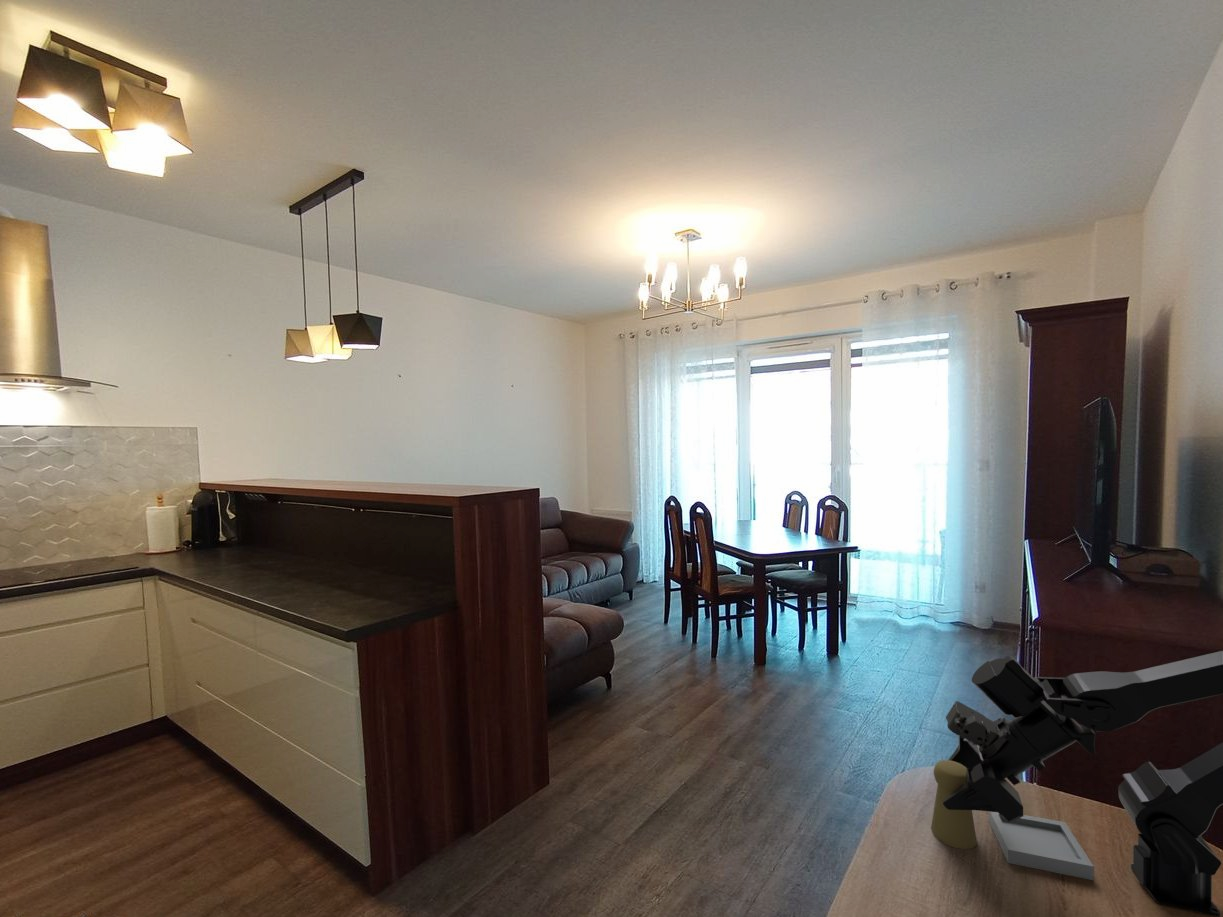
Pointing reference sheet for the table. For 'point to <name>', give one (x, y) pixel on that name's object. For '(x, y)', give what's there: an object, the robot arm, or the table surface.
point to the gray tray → (1041, 845)
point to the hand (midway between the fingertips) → (942, 790)
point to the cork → (951, 823)
